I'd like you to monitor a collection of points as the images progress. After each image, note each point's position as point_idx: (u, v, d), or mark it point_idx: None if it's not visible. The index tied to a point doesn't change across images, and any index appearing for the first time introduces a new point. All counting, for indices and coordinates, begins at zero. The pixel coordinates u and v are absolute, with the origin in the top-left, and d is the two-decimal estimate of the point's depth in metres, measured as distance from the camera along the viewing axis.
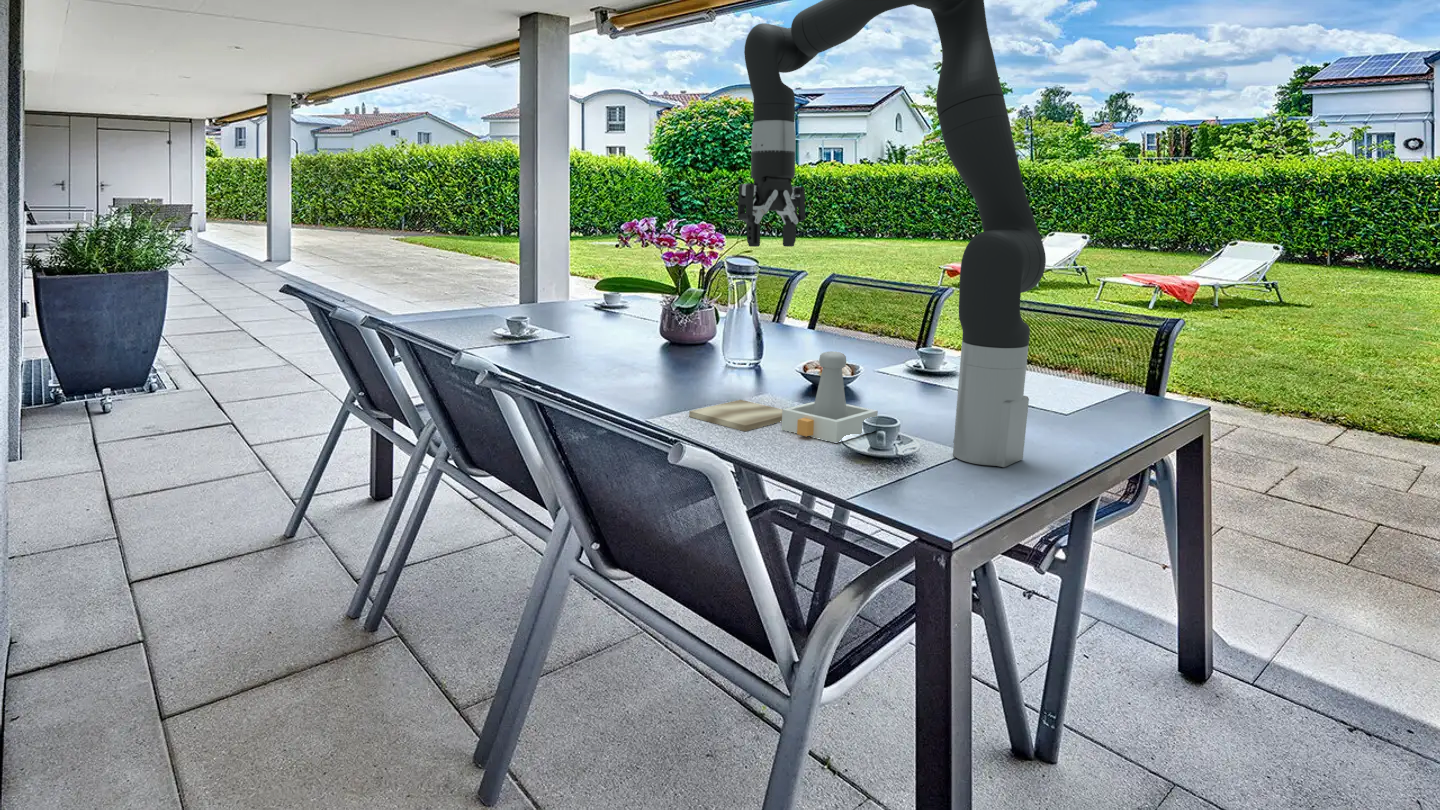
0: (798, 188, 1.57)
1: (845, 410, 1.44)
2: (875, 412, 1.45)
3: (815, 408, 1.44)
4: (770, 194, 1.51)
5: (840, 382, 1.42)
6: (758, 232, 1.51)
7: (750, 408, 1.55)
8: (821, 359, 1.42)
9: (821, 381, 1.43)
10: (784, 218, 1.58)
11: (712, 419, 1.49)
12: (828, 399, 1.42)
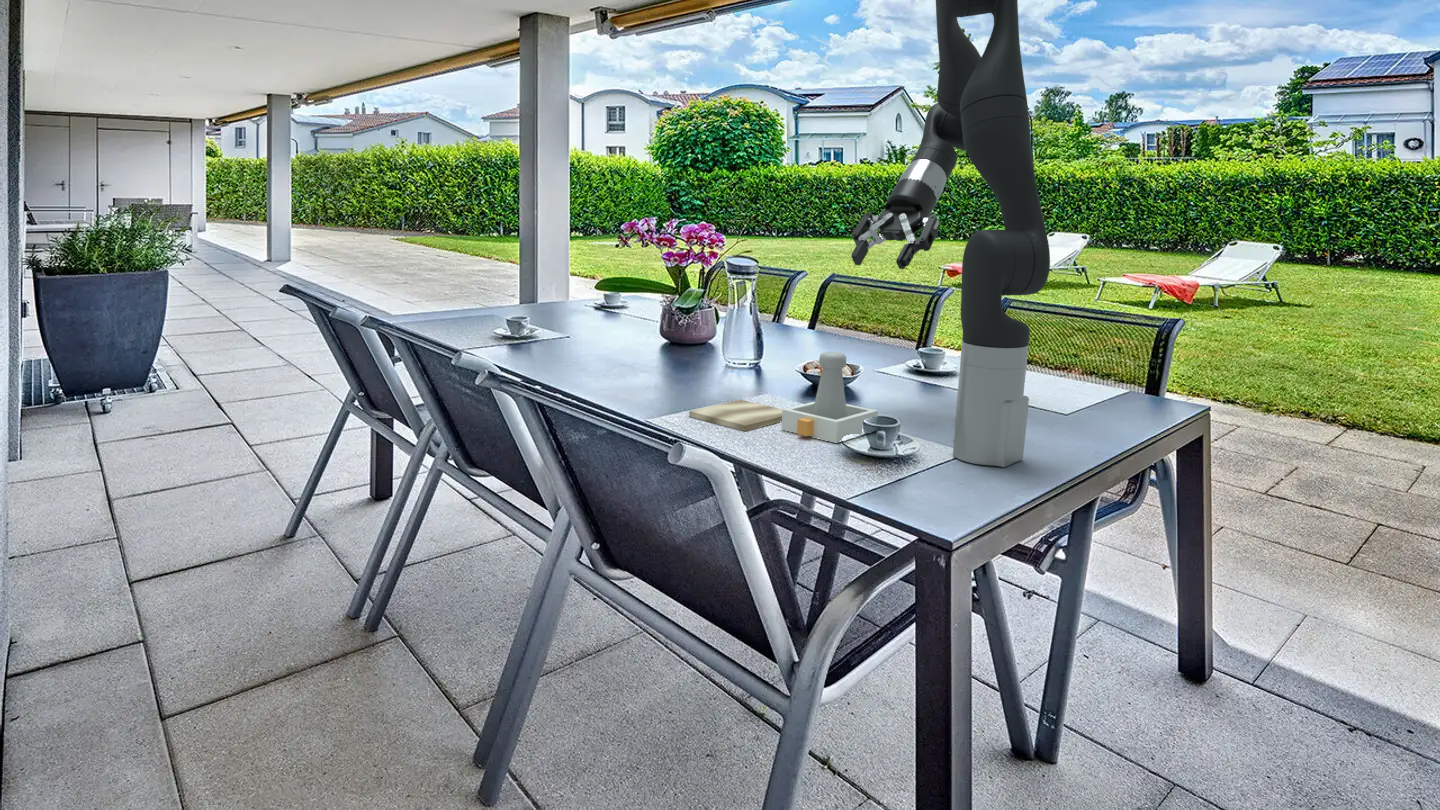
0: None
1: (845, 410, 1.44)
2: (875, 412, 1.45)
3: (815, 408, 1.44)
4: None
5: (840, 382, 1.42)
6: (858, 247, 1.50)
7: (750, 408, 1.55)
8: (821, 359, 1.42)
9: (821, 381, 1.43)
10: None
11: (712, 419, 1.49)
12: (828, 399, 1.42)
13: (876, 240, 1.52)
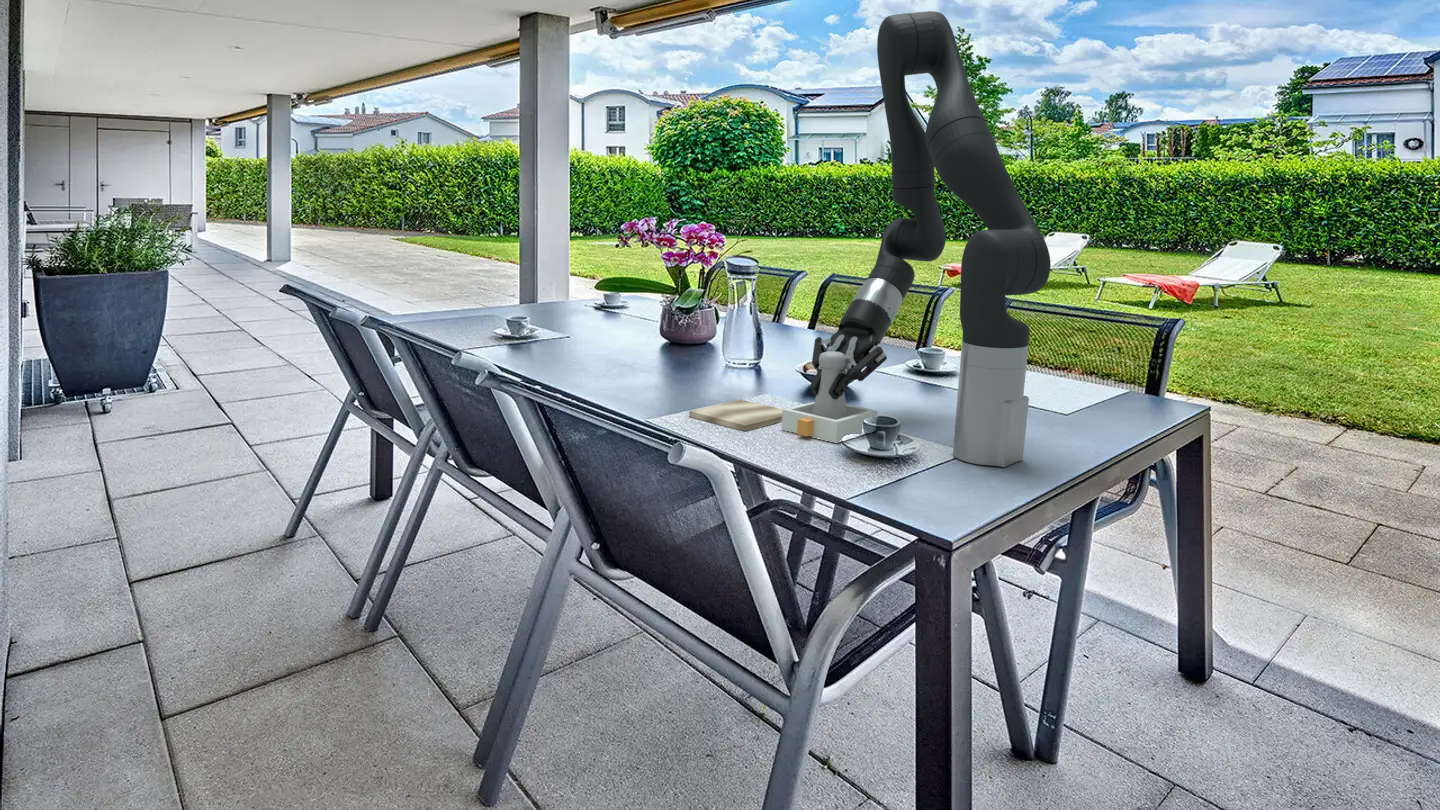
0: None
1: (845, 409, 1.44)
2: (875, 412, 1.45)
3: (815, 408, 1.44)
4: (836, 341, 1.46)
5: None
6: (818, 376, 1.44)
7: (750, 408, 1.55)
8: (820, 359, 1.42)
9: (821, 381, 1.43)
10: None
11: (712, 419, 1.49)
12: (828, 399, 1.42)
13: None
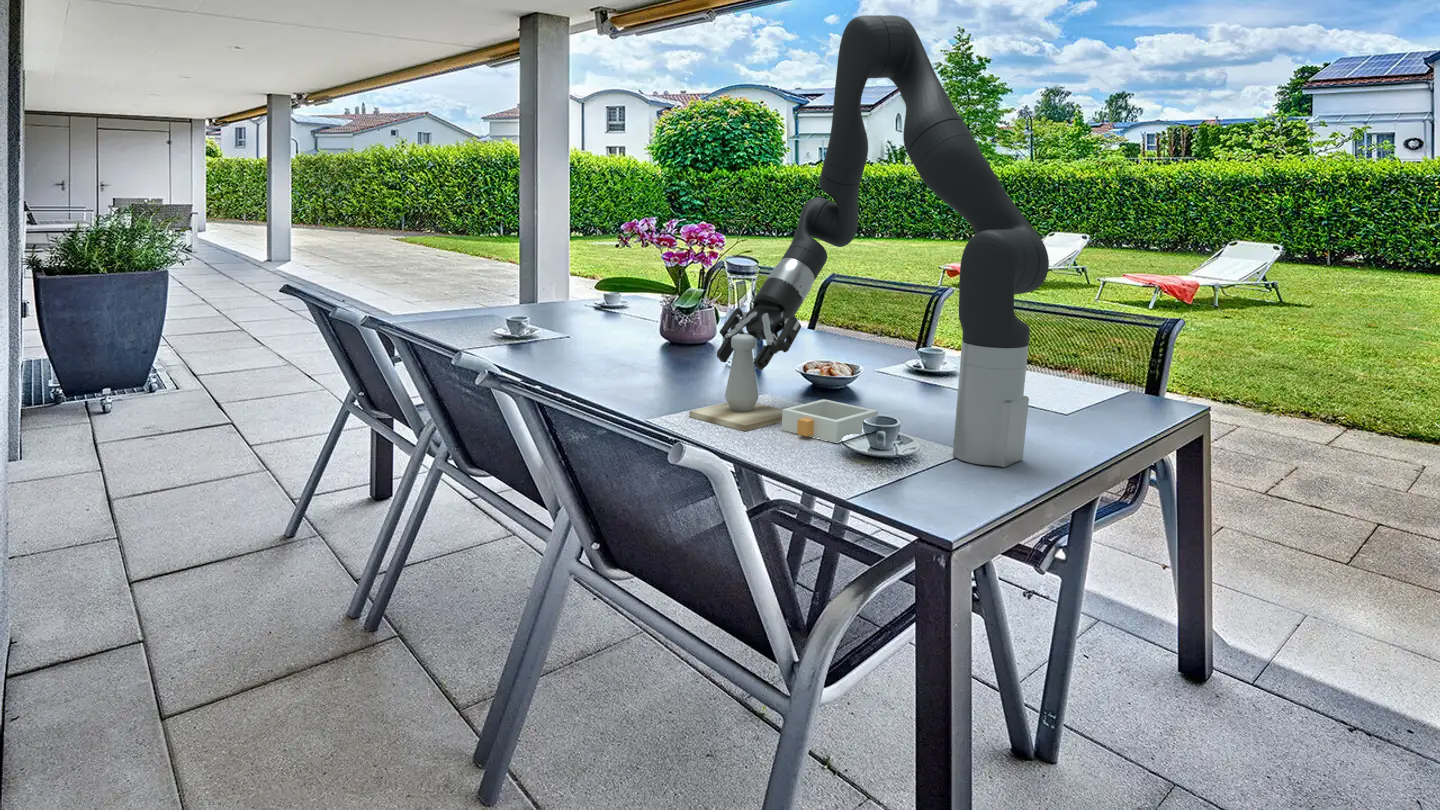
0: None
1: (756, 389, 1.53)
2: (875, 412, 1.45)
3: (727, 387, 1.53)
4: None
5: (750, 363, 1.52)
6: (724, 344, 1.53)
7: None
8: (732, 341, 1.51)
9: (732, 362, 1.52)
10: None
11: (712, 419, 1.49)
12: (739, 379, 1.51)
13: None
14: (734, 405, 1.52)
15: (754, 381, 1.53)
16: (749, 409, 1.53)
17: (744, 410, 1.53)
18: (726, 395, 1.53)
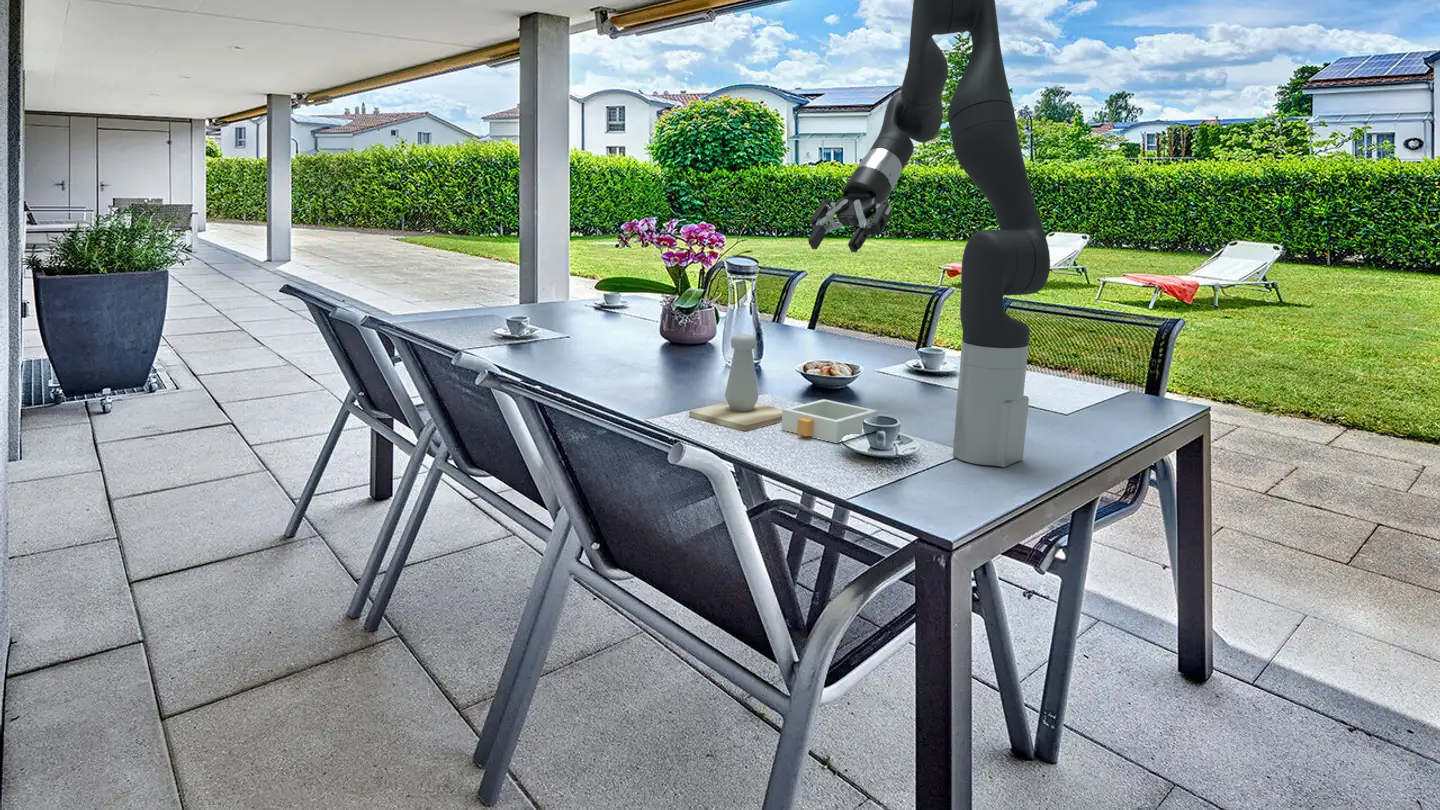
0: None
1: (756, 389, 1.53)
2: (875, 412, 1.45)
3: (727, 387, 1.53)
4: None
5: (750, 363, 1.52)
6: (815, 231, 1.57)
7: None
8: (732, 341, 1.51)
9: (732, 362, 1.52)
10: None
11: (712, 419, 1.49)
12: (739, 379, 1.51)
13: (833, 225, 1.58)
14: (734, 405, 1.52)
15: (754, 381, 1.53)
16: (749, 409, 1.53)
17: (744, 410, 1.53)
18: (726, 395, 1.53)
